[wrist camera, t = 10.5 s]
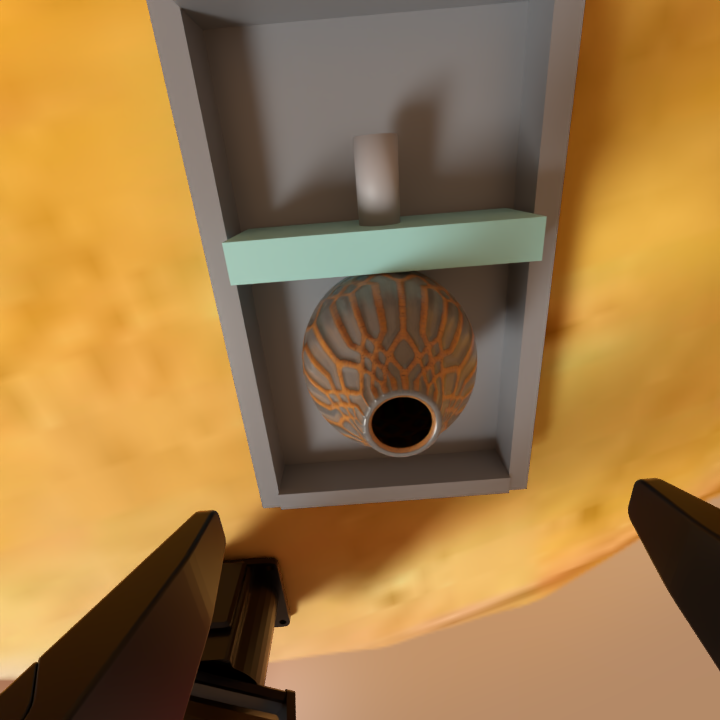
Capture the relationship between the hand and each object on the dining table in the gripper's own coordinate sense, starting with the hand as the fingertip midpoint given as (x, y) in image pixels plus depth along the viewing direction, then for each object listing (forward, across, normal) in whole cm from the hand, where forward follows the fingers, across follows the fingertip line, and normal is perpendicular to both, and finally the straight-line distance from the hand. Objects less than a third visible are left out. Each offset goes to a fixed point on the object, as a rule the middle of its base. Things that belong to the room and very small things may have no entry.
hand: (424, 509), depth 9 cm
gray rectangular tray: (+13, 0, -2) cm, 13 cm away
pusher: (+12, 0, -6) cm, 13 cm away
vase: (+12, 0, 0) cm, 12 cm away
